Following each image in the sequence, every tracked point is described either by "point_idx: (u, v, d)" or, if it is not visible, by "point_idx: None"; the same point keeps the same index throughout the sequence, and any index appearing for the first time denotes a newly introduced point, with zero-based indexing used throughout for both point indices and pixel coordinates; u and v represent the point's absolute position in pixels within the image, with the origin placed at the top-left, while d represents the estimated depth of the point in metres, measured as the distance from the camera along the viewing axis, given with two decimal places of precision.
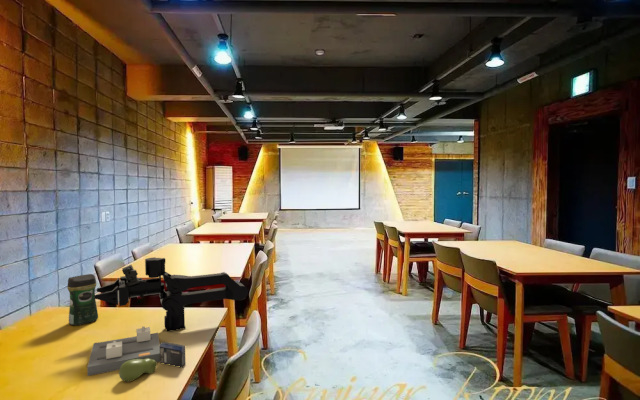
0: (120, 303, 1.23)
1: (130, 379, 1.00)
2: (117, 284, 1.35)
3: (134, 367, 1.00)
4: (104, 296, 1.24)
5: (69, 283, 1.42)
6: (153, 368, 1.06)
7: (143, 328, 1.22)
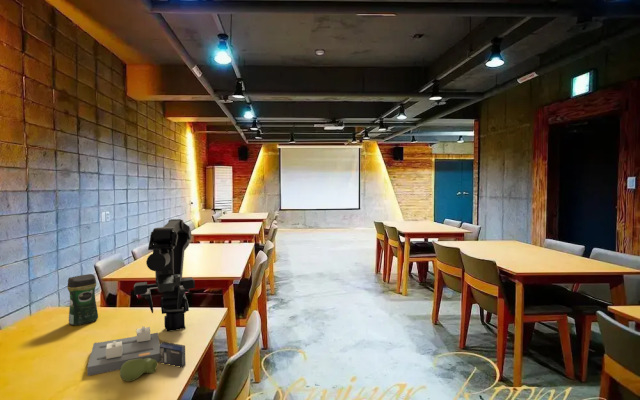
0: None
1: (131, 379, 1.00)
2: (150, 294, 1.22)
3: (135, 367, 1.01)
4: None
5: (69, 283, 1.42)
6: (154, 368, 1.06)
7: (143, 328, 1.22)
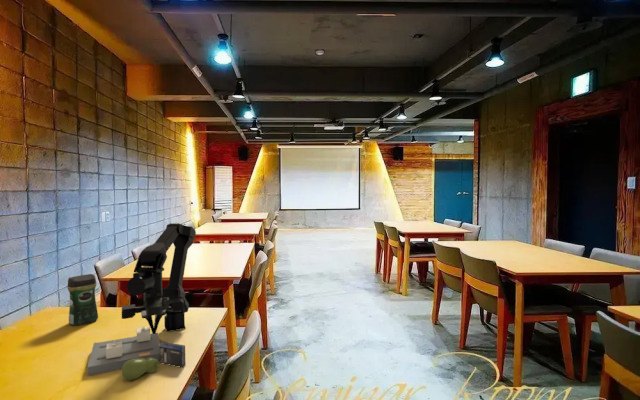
0: None
1: (132, 378, 1.00)
2: None
3: (136, 366, 1.01)
4: (157, 324, 1.24)
5: (69, 283, 1.42)
6: (155, 367, 1.06)
7: (143, 328, 1.22)
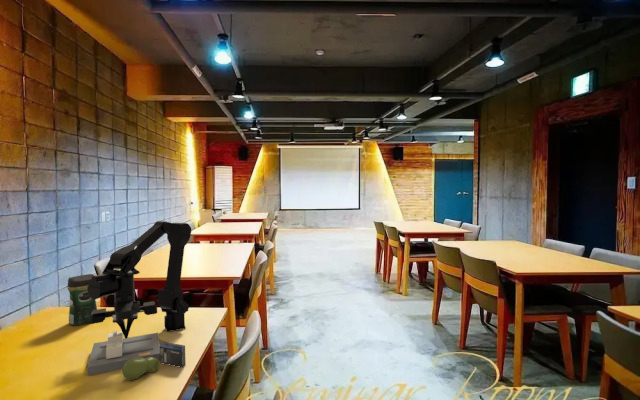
0: None
1: (133, 377, 1.01)
2: (123, 319, 1.19)
3: (137, 365, 1.01)
4: (129, 328, 1.20)
5: (69, 283, 1.42)
6: (156, 367, 1.06)
7: (115, 333, 1.18)
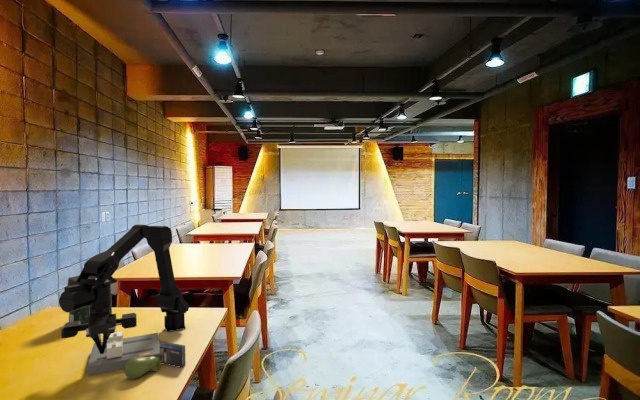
0: (136, 320, 1.15)
1: (135, 376, 1.01)
2: (98, 333, 1.08)
3: (139, 365, 1.02)
4: (106, 342, 1.10)
5: (69, 283, 1.42)
6: (158, 366, 1.07)
7: (115, 332, 1.18)
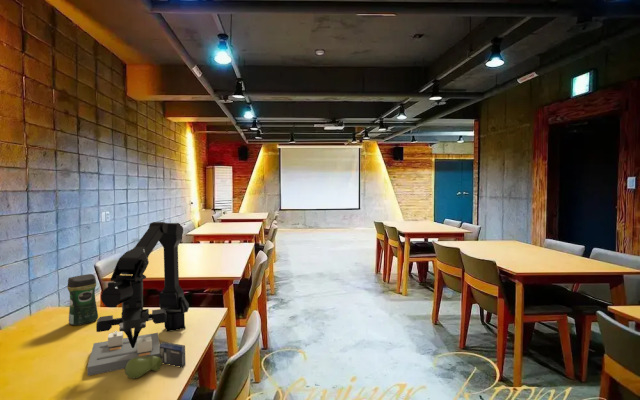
0: None
1: (136, 376, 1.01)
2: None
3: (140, 364, 1.02)
4: None
5: (69, 283, 1.42)
6: (158, 365, 1.07)
7: (115, 332, 1.18)
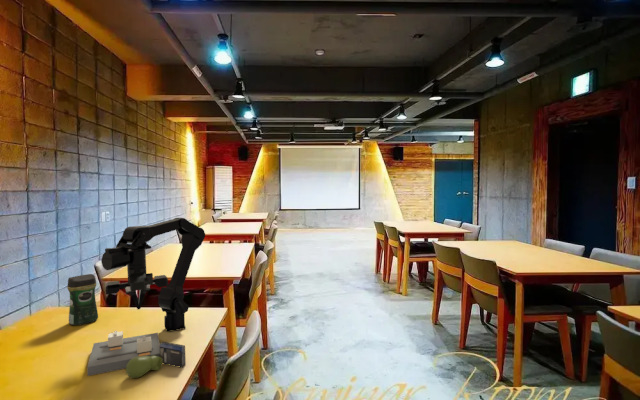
0: None
1: (137, 375, 1.02)
2: None
3: (140, 364, 1.02)
4: None
5: (69, 283, 1.42)
6: (159, 365, 1.07)
7: (115, 332, 1.18)
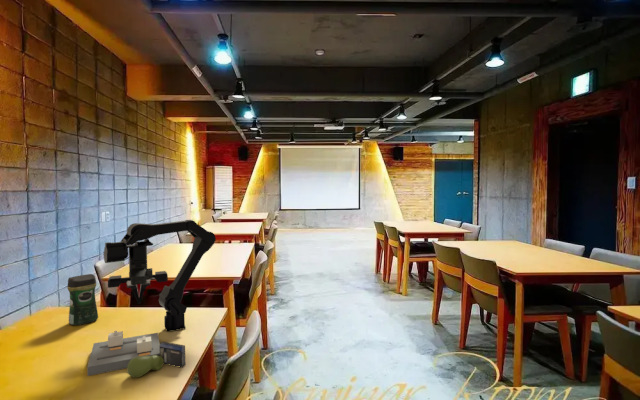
0: None
1: (138, 375, 1.02)
2: (136, 286, 1.30)
3: (141, 363, 1.02)
4: (142, 294, 1.31)
5: (69, 283, 1.42)
6: (160, 365, 1.08)
7: (115, 332, 1.18)
